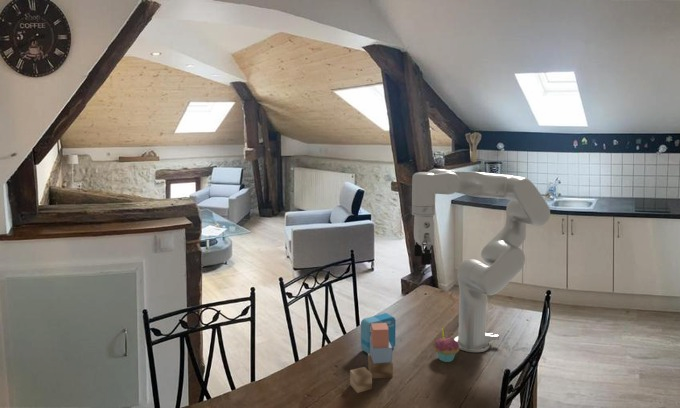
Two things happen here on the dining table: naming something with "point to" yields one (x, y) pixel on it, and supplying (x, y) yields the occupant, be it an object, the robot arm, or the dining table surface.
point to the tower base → (380, 369)
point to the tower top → (381, 354)
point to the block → (360, 379)
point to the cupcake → (446, 348)
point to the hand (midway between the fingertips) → (422, 260)
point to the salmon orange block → (379, 335)
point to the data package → (367, 329)
